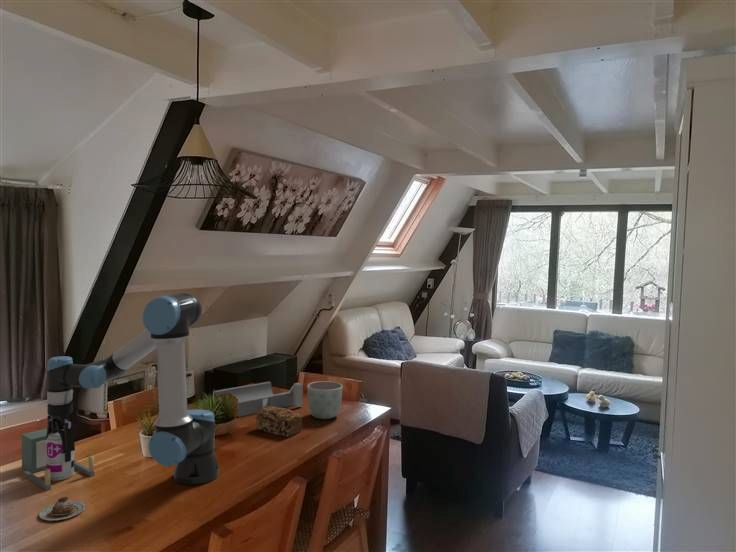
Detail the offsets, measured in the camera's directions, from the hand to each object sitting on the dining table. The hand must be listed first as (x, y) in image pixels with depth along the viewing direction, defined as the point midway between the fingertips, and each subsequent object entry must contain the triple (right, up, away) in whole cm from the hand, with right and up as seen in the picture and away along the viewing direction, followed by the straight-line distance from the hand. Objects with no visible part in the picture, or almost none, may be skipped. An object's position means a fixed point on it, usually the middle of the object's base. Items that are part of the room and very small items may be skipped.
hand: (60, 466), depth 186 cm
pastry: (+14, -6, -24) cm, 29 cm away
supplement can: (0, -3, 0) cm, 3 cm away
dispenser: (-4, -3, +3) cm, 6 cm away
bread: (+67, -3, +53) cm, 85 cm away
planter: (+85, -2, +74) cm, 113 cm away
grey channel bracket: (+50, -1, +88) cm, 102 cm away
